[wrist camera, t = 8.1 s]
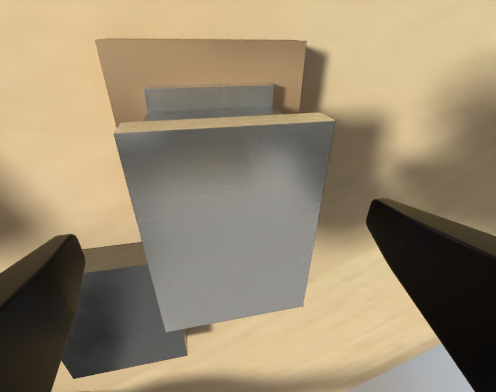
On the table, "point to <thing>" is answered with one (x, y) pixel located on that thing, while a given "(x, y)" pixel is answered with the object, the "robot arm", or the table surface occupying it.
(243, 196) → the block
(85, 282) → the stand
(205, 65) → the stand
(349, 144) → the table surface
